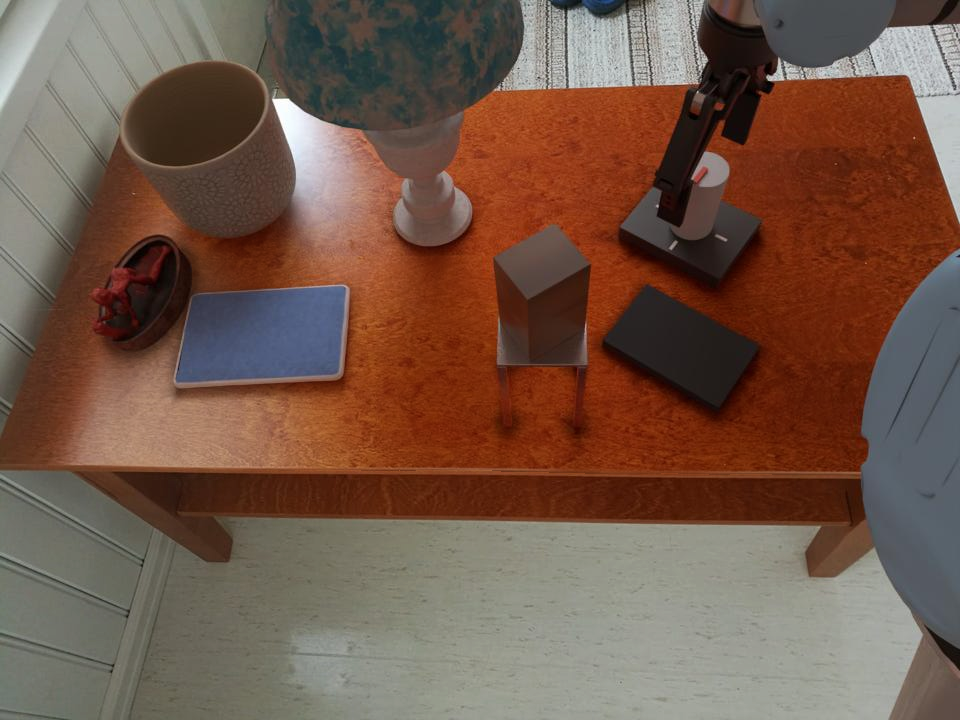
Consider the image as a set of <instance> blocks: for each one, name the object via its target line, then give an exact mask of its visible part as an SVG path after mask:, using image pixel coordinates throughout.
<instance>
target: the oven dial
mask: <svg viewBox="0 0 960 720" xmlns="http://www.w3.org/2000/svg"><path fill="white" fill-rule="evenodd" d="M730 169H731V168H730V165H729V163H728V162H727V160H726V159H725V158H724V157H722V156H721V155H720V154H718V153H715V152H710V151H705V152H704V154H703V156H702V158H701V160H700V162H699V164H698V166H697V168H696V170H695V172H694V174H693V176H692V178H691V179H692V180H694V183H693V187H692V190H691V194H690V198H689V202H688V206H687V209H686V213H685V217H684V221H683V224H682V225H681V226H680V228H678V227H676V226H674V225H672V224H670V223H669V226H670V228H671V230H672V231H673V233H674V234H676V235H677V236H679V237H680V238H683V239H686V240H698V239H702V238H704V237H706V236H707V235H708V234H709V233H710V232H711V230H712V228H713V225H714V221H715V218H716V215H717V212H718V209H719V206H720V202H721V200H723V196H724V193H725V190H726V186H727V184H728V181H729V177H730V173H731V170H730Z"/></svg>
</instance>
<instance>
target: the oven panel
mask: <svg viewBox="0 0 960 720" xmlns="http://www.w3.org/2000/svg"><path fill="white" fill-rule="evenodd" d="M661 192H662V191H661V190H659V189H657V188H655V187H653V186H652V187H651V188H650V189H649V190H648V192H647V193H646V194H645V195H644V197H643V198H642V199H641V200H640V201H639V203H638V204H637V205H636V206H635V207H634V209H633V210H632V211H631V213H630V214H629V215H628V216H627V217H626V218H625V220H624V221H623V222H622V223H621V225H620V226H619V228H618V235H617V238H618V239H620V240H622V241H624V242H626V243H628V244H630V245H632V246H633V247H635V248H637V249H639V250H640V251H644V252H645V253H647V254H649V255H651V256H653V257H654V258H656V259H658V260H660V261H662V262H664V263H666V264H667V265H670V266H671V267H673V268H675V269H678V270H679V271H681V272H683V273H685V274H687V275H689V276H691V277H692V278H695V279H696V280H698V281H700V282H702V283H704V284H706V285H708V286H710V287H711V288H714V289H716V290H717V288H718V287H719V286H720V284H721V283H722V282H723V280H724V279H725V277H726V276H727V275H728V273H729V272H730V271H731V269H732V268H733V266H734V265H735V263H736V262H737V261H738V259H739V258H740V257H741V255H742V254H743V253H744V251H745V250H746V249H747V247H748V246H749V244H750V243H751V242H752V240H753V239H754V237H755V236H756V235H757V233H758V232H759V230H760V227H761V225H762V222H763V219H761V218H759V217H757V216H755V215H753V214H751V213H749V212H747V211H745V210H743V209H741V208H739V207H736V206H734V205H732V204H731V203H728V202H726V201H724V200H723V199H721V202H720V206H719V209H718V212H717V215H716V218H715V221H714V225H713V228H712V230H711V232H710V233H709V234H708V235H707V236H706V237H704V238H702V239H698V240H686V239H683V238H680V237H679V236H677V235H676V234H674V233H673V231H672V230H671V228H670V226H669V223H668V222H666V221H664V220H662V219H660V218H658V217H656V216H657V211H658V207H659V202H660V197H661Z"/></svg>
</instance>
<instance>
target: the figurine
mask: <svg viewBox="0 0 960 720" xmlns="http://www.w3.org/2000/svg"><path fill="white" fill-rule="evenodd" d="M192 284H193V269H192V264H191V261H190V260H189V258H188V256H187V255H185V253H184V252H183V251H182V250H181V248H179V246H178V244H177V243H176V241H174V239H173V238H171V237H170V236H168V235H165V234H160V233H159V234H158V233H157V234H151V235H148V236H146V237H143V238H142V239H140V240H138V241H137V242H136V243H134V244H133V245H132V246H131V247H129V248H128V249H127V251H125V252H124V253H123V254H122V256H121V257H120V258H119V260H118V261H117V263H116V264H115V265H114V267H113V268H112V269H111V271H110V273H109V275H108V277H107V279H106V280H105V283H104V286H103V288H102V287H94V288H93V291H92V293H91V298H92V301H93V302H94V303H96V304H98V309H97V317H94V318H93V322H92V323H91V327H90V328H91V329H92V330H93V333H94V334H96V335H99V336H102V337H104V338H105V339H106V340H107V341H108V342H110V343H112V344H113V345H115V346H116V348H118V349H119V350H121V351H123V352H128V353H137V352H141V351H143V350H146V349H148V348H149V347H151V346H153V345H154V344H156V343H158V342H159V341H160V340H161V339H162V338H163V337H164V336H165V335H166V334H168V332H169V331H170V330H171V329H172V327H174V325H175V324H176V323H177V322H178V320H179V318H180V316H181V315H182V313H183V311H184V309H185V307H186V306H187V304H188V301H189V299H190V298H189V297H190V294H191V290H192Z"/></svg>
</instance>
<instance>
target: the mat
mask: <svg viewBox="0 0 960 720" xmlns="http://www.w3.org/2000/svg"><path fill="white" fill-rule="evenodd" d="M601 346H603V347H604V348H606V349H608V350H609V351H611V352H612V353H614V354H616V355H618V356H619V357H621V358H622V359H624V360H626V361H628V362H630V363H632V364H634V366H636V367H638V368H640V369H641V370H643V371H645V372H646V373H648V374H650V375H651V376H653V377H655V378H657V379H659V380H660V381H662V382H663V383H666V384H667V385H669V386H670V387H672V388H674V389H675V390H677V391H679V392H680V393H683V394H684V395H685V396H688V397H689V398H691V399H692V400H694V401H696V402H698V403H699V404H701V405H703V407H706V408H707V409H710V410H711V411H713V412H714V413H717V412H718V411H719V410H720V408H721V407H722V405H723V404H724V403H725V400H726V399H727V398H728V397H729V395H730V393H731V392H732V390H733V388H734V387H735V386H736V384H737V383H738V381H739V380H740V379H741V377H742V375H743V374H744V373H745V371H746V369H747V368H748V367H749V365H750V363H751V362H752V360H753V358H755V356H756V354H757V353H758V351H759V349H760V347H761V345H760V344H759V343H757V342H755V341H753V340H751V339H750V338H748V337H746V336H744V335H742V334H740V333H738V332H737V331H734V330H733V329H731V328H729V327H727V326H725V325H723V324H722V323H720V322H718V321H716V320H714V319H712V318H711V317H710V316H709V317H708V316H707V315H705V314H703V313H701V312H700V311H698V310H696V309H694V308H693V307H691V306H688V305H687V304H685V303H683V302H681V301H679V300H677V299H675V298H673V297H672V296H670V295H669V294H667V293H665V292H663V291H661V290H659V289H657V288H656V287H653V286H651V285H649V284H648V283H646V284H645V285H644V286H643V287H642V289H641V290H640V291H639V293H638V294H637V295H636V296H635V298H634V299H633V301H631V303H630V304H629V305H628V307H627V308H626V309H625V311H624V312H623V313H622V315H621V316H620V317H619V319H618V320H617V321H616V322H615V324H614V325H613V326H612V327H611V329H610V330H609V332H608V333H607V334H606V335H605V336H604V338H603V339H602V343H601Z"/></svg>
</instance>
